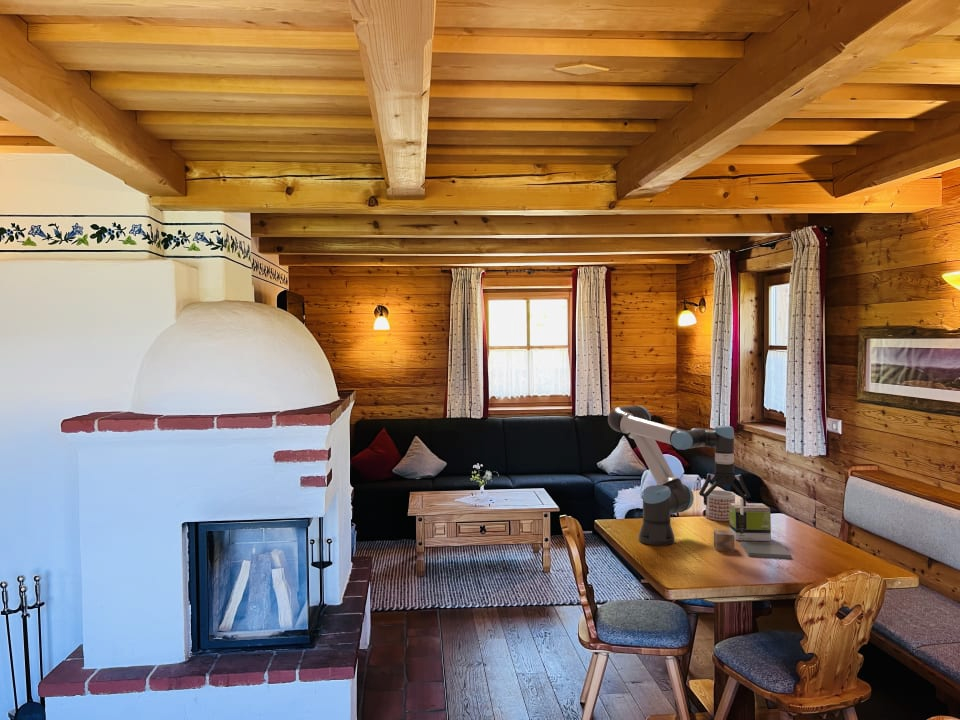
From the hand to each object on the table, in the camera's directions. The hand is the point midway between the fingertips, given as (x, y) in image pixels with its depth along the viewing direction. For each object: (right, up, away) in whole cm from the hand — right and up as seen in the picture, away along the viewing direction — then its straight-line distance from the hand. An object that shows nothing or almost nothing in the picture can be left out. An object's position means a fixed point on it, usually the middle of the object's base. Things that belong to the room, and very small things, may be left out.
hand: (724, 513), depth 273 cm
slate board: (+15, -15, -4) cm, 22 cm away
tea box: (+17, -15, +16) cm, 28 cm away
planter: (+17, -15, +51) cm, 56 cm away
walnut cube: (0, -15, 0) cm, 15 cm away
